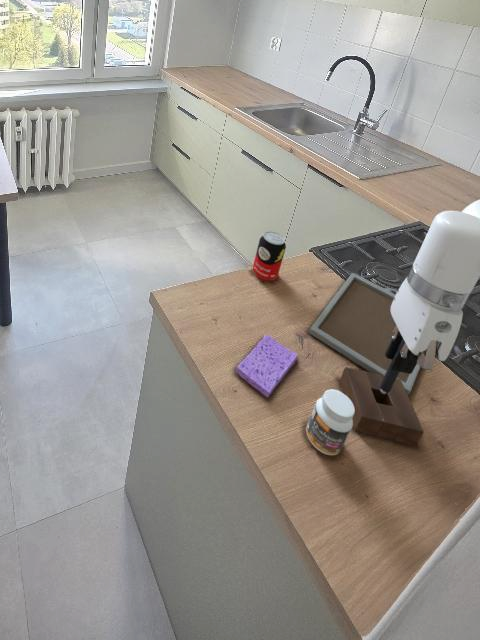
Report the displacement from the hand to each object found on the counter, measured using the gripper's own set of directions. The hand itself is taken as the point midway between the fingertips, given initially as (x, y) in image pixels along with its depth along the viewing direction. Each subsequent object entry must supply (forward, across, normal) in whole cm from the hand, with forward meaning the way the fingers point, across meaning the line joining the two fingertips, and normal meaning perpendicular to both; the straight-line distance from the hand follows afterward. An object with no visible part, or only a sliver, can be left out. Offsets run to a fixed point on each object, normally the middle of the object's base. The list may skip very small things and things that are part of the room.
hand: (397, 364), depth 73 cm
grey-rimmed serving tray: (+13, +22, -8) cm, 27 cm away
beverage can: (+13, +32, +16) cm, 38 cm away
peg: (+8, 0, 0) cm, 8 cm away
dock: (+13, 0, 0) cm, 13 cm away
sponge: (+13, +4, +19) cm, 23 cm away
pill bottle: (+13, -8, +11) cm, 19 cm away
